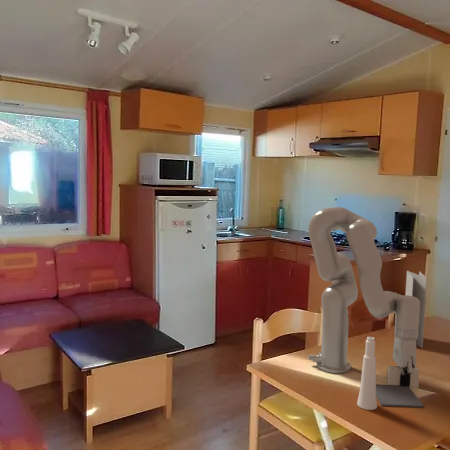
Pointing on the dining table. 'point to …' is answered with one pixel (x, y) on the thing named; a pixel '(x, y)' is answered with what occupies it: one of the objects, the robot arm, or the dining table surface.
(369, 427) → the dining table surface
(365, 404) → the cosmetic bottle
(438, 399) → the dining table surface
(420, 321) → the brochure
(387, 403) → the mat
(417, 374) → the tile
